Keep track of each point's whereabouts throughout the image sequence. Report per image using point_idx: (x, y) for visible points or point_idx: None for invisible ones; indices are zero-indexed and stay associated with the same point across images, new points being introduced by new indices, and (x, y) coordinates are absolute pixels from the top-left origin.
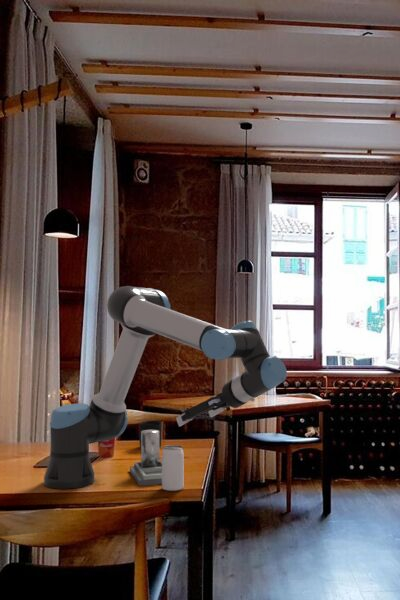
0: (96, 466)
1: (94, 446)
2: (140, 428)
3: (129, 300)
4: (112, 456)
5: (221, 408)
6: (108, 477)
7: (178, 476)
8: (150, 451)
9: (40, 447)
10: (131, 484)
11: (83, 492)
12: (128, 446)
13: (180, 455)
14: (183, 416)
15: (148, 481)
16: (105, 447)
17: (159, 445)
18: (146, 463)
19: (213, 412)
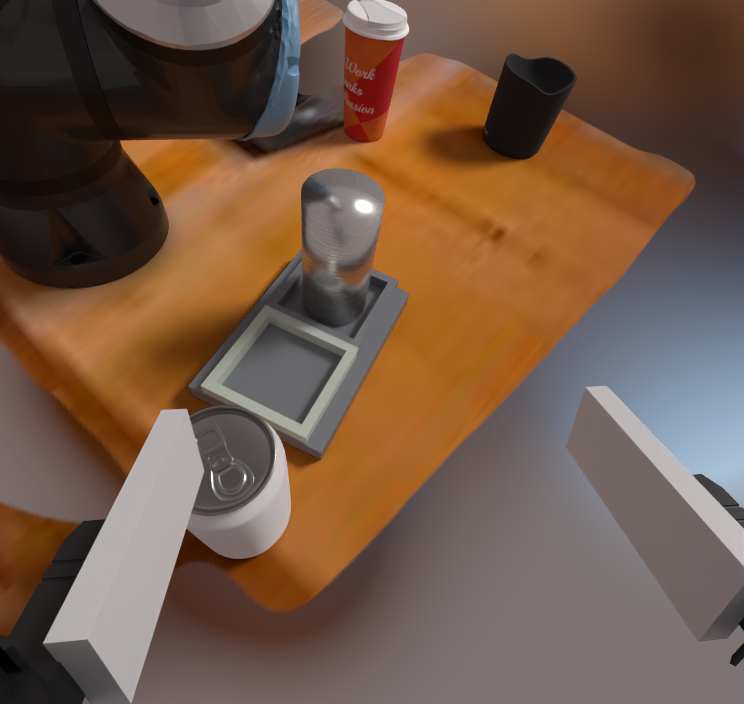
0: (273, 173)
1: (400, 70)
2: (500, 77)
3: None
4: (372, 141)
5: (691, 593)
6: (207, 263)
7: (223, 550)
8: (315, 275)
9: (302, 19)
10: (189, 364)
11: (13, 329)
12: (467, 109)
13: (221, 532)
14: (51, 581)
15: (219, 404)
16: (352, 110)
17: (528, 152)
18: (305, 295)
19: (604, 470)
